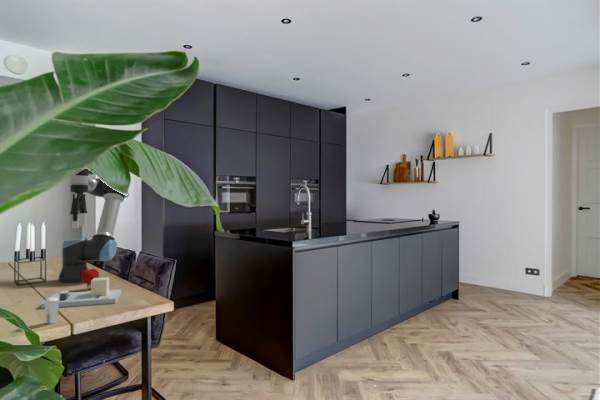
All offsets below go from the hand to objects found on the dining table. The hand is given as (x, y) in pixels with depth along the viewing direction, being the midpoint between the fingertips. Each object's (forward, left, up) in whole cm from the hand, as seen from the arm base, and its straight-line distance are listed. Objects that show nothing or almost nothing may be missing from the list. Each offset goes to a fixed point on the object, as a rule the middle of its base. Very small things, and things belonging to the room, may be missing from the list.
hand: (78, 227), depth 179 cm
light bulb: (-1, +5, -32) cm, 32 cm away
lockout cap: (+18, +13, -30) cm, 37 cm away
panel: (+20, +7, -32) cm, 38 cm away
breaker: (+24, 0, -29) cm, 38 cm away
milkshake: (+50, +3, -32) cm, 59 cm away
